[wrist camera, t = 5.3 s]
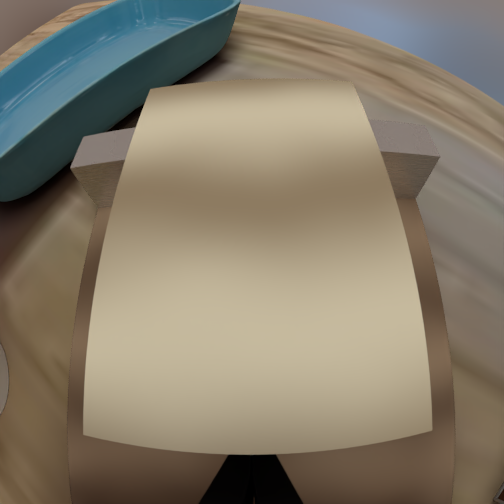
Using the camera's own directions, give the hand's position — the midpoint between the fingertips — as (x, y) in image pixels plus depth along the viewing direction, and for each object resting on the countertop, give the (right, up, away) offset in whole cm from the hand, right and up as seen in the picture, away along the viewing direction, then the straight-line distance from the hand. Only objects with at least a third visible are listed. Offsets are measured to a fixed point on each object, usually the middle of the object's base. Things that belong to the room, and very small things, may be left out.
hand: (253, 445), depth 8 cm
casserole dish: (-17, +22, +20) cm, 35 cm away
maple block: (0, +3, +8) cm, 8 cm away
